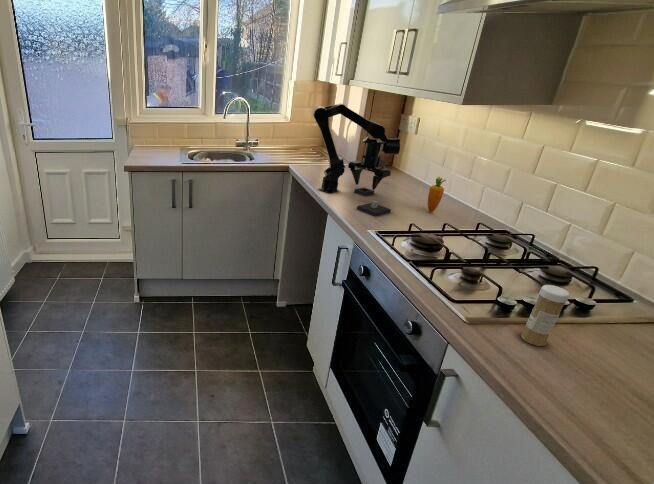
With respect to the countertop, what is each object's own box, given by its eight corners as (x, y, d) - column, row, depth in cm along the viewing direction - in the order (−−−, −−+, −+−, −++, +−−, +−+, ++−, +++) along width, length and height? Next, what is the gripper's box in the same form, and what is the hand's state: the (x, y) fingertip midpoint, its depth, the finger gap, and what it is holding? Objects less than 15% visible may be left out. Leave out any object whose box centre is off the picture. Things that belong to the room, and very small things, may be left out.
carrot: (425, 209, 171) (435, 174, 165) (438, 212, 168) (449, 177, 162) (421, 212, 168) (431, 176, 162) (435, 215, 165) (445, 179, 158)
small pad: (354, 192, 192) (354, 189, 191) (363, 190, 194) (363, 187, 194) (364, 196, 187) (365, 192, 186) (373, 194, 190) (374, 190, 189)
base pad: (356, 209, 171) (358, 200, 170) (371, 205, 175) (373, 196, 173) (375, 216, 164) (377, 206, 162) (390, 212, 168) (392, 203, 166)
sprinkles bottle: (521, 331, 96) (543, 281, 91) (546, 340, 94) (570, 289, 88) (519, 340, 93) (541, 289, 88) (545, 350, 90) (569, 297, 85)
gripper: (402, 155, 179) (394, 190, 185) (367, 147, 194) (360, 179, 200) (385, 158, 174) (377, 193, 181) (350, 149, 189) (344, 182, 196)
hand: (365, 187), depth 190 cm, fingers open, 9 cm apart
